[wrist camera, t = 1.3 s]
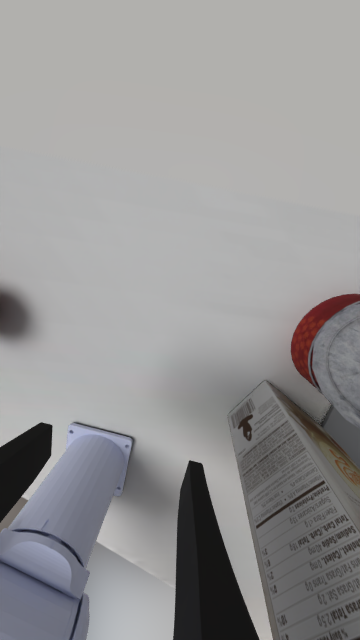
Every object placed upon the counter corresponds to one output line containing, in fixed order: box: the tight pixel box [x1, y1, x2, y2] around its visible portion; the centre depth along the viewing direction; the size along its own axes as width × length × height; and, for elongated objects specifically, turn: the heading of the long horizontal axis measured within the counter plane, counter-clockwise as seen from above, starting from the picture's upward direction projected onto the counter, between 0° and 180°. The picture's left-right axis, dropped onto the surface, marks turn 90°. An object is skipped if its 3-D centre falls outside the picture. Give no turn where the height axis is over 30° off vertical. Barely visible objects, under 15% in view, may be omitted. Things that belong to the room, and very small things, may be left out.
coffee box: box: [228, 381, 360, 640], centre depth 11 cm, size 9×6×16 cm
